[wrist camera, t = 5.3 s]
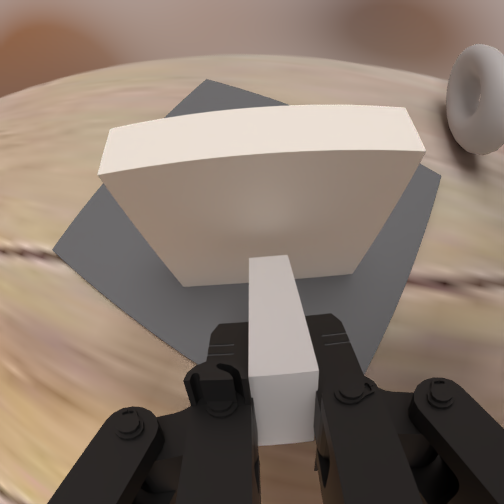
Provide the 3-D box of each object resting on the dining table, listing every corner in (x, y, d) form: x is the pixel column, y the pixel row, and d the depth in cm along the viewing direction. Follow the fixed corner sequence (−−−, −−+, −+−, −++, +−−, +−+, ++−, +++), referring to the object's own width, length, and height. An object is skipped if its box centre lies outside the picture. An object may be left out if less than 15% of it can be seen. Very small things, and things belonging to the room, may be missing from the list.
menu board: (352, 273, 19) (426, 151, 8) (183, 286, 19) (97, 175, 9) (346, 243, 19) (404, 107, 9) (184, 255, 20) (110, 128, 10)
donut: (486, 182, 22) (544, 102, 12) (455, 174, 22) (509, 85, 13) (460, 106, 25) (494, 32, 16) (432, 98, 26) (462, 19, 17)
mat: (438, 180, 22) (441, 175, 21) (325, 436, 15) (326, 438, 15) (207, 83, 27) (206, 79, 27) (56, 253, 21) (52, 249, 20)
